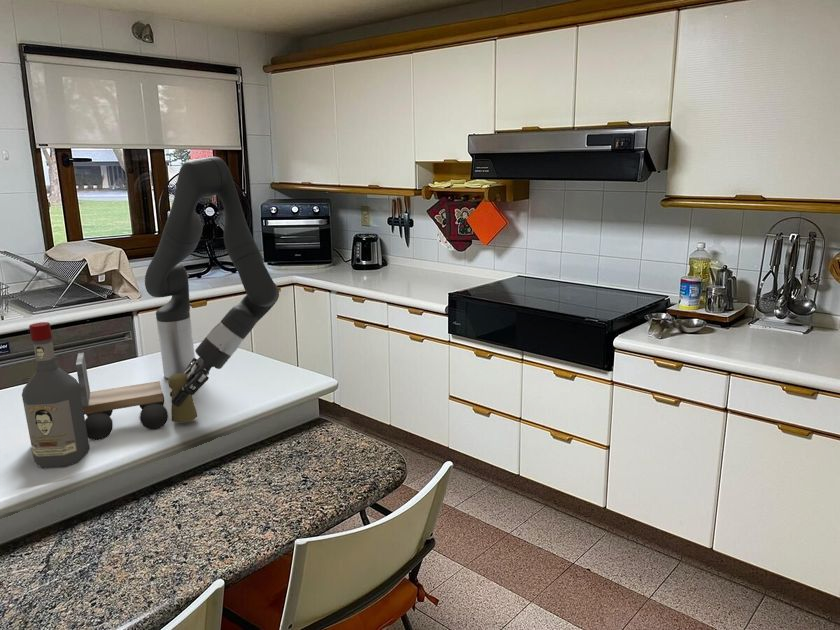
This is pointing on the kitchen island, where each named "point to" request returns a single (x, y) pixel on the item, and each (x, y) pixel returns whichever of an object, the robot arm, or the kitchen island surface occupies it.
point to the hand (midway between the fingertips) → (173, 400)
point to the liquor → (53, 407)
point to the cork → (187, 407)
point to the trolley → (119, 403)
